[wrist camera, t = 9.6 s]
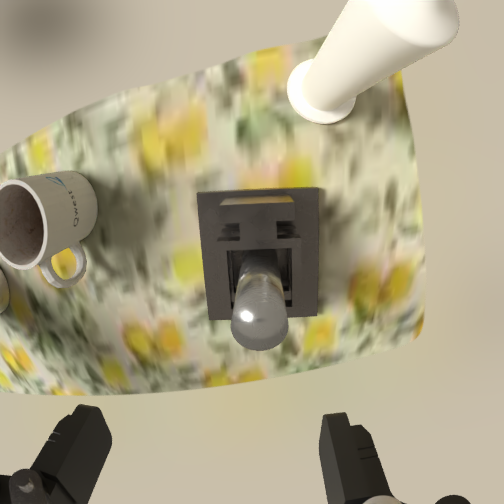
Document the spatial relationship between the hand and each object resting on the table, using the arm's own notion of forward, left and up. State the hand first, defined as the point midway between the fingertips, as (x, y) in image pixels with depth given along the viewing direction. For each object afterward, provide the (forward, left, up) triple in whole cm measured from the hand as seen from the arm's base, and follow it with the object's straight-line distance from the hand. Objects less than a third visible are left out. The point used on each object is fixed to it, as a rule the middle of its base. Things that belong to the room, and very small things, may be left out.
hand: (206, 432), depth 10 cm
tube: (+2, -1, -24) cm, 24 cm away
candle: (+9, +16, -25) cm, 31 cm away
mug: (-20, +4, -25) cm, 33 cm away
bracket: (+2, -1, -25) cm, 25 cm away
